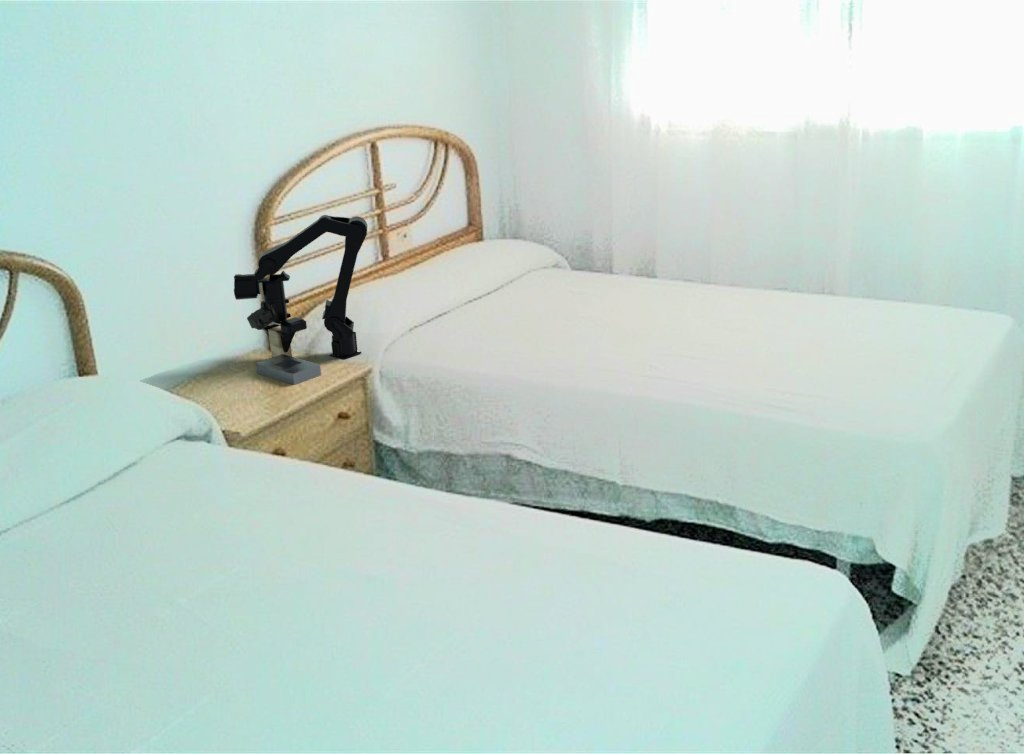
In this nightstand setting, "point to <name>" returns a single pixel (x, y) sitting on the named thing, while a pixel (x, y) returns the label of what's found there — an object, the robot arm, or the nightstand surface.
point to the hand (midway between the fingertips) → (281, 350)
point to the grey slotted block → (288, 369)
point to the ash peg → (277, 343)
